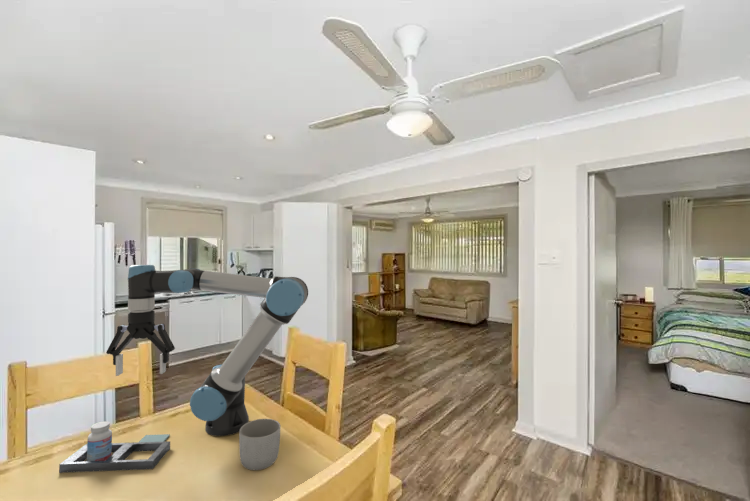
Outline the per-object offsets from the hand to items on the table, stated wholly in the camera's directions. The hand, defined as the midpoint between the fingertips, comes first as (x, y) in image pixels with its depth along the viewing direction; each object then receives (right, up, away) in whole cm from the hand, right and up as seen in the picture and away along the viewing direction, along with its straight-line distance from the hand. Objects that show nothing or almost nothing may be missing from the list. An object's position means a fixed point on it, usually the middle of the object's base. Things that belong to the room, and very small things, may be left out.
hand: (141, 373), depth 118 cm
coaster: (+2, -24, +2) cm, 25 cm away
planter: (+42, -26, -8) cm, 50 cm away
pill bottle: (-7, -24, -9) cm, 27 cm away
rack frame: (-2, -24, -8) cm, 26 cm away
